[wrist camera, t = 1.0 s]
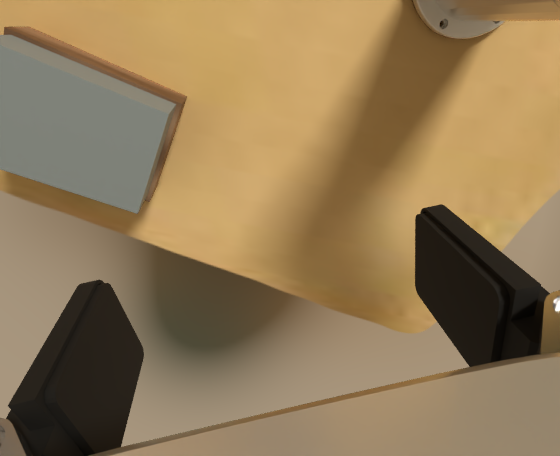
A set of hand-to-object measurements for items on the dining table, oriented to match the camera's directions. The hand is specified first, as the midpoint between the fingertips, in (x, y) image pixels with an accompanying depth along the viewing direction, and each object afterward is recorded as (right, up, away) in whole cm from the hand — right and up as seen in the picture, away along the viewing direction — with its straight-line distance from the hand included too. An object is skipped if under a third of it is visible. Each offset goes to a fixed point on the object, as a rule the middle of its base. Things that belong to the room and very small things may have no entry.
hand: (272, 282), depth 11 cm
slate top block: (-18, +11, +23) cm, 32 cm away
